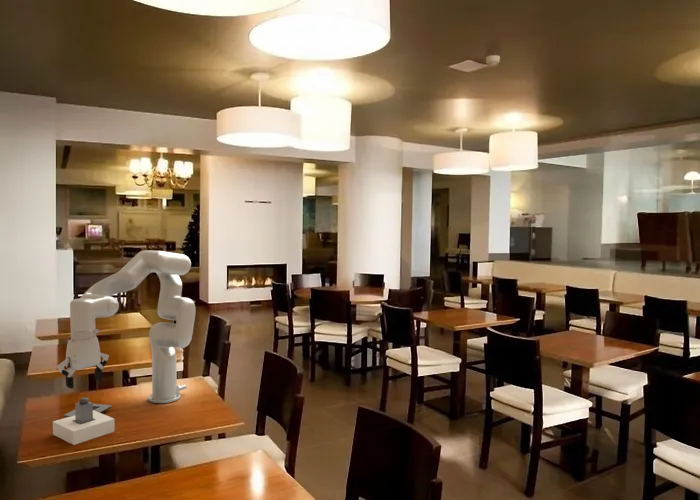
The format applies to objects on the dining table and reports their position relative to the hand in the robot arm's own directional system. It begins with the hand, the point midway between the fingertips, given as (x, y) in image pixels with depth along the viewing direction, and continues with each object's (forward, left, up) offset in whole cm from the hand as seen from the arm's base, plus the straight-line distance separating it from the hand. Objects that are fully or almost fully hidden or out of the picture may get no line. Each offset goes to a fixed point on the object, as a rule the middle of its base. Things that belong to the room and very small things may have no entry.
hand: (84, 383), depth 178 cm
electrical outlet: (-10, -16, -18) cm, 26 cm away
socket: (0, 0, -17) cm, 17 cm away
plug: (0, 0, -17) cm, 17 cm away
